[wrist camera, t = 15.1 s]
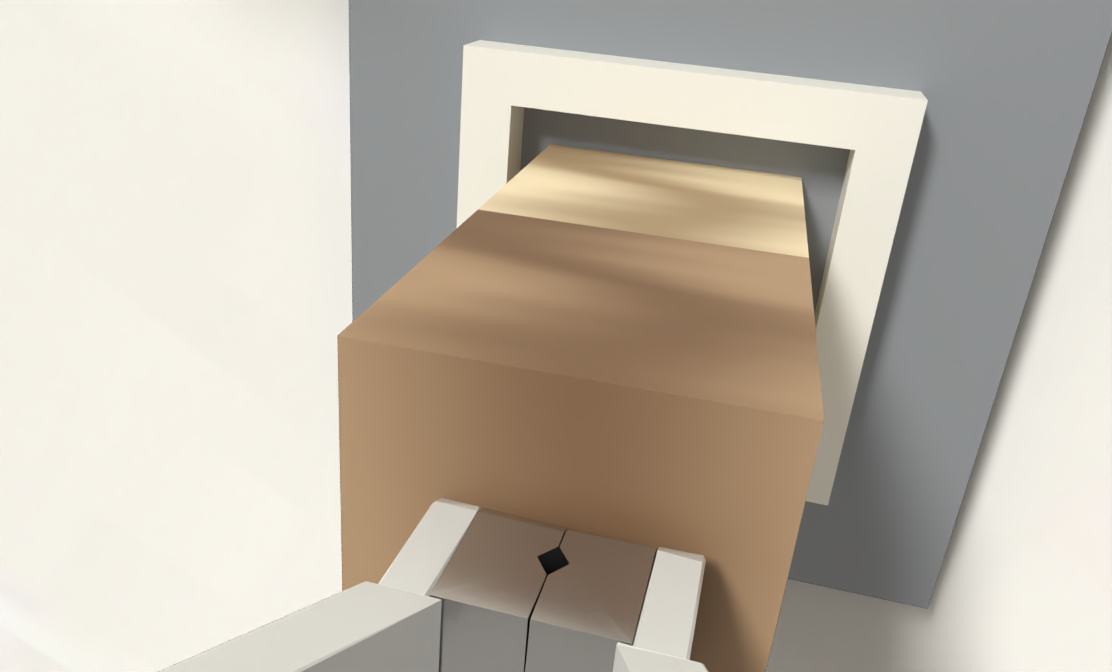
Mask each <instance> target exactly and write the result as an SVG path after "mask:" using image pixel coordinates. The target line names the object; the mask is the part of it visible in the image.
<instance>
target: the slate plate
mask: <svg viewBox="0 0 1112 672" xmlns="http://www.w3.org/2000/svg"><path fill="white" fill-rule="evenodd" d="M1111 33H1112V0H349V63H350V144H351V226H352V308H353V321H355V320H356V319H357V318H358V317H359V316H360V315H361V314H362V313H363V312H365V311H366V310H367V309H368V308H369V307H370V306H371V305H372V304H373V303H375V302H376V301H377V300H378V299H379V298H380V297H381V296H382V295H383V294H385V293H386V292H387V291H388V290H389V289H390V288H391V287H392V286H393V285H395V284H396V283H397V282H398V281H399V280H400V279H401V278H402V277H403V276H405V275H406V274H407V273H408V272H409V271H410V270H411V269H412V268H413V267H415V266H416V265H417V264H418V263H419V262H420V261H421V260H422V259H423V258H425V257H426V256H427V255H428V254H429V253H430V252H431V251H432V250H433V249H435V248H436V247H437V246H438V245H439V244H440V243H441V242H442V241H443V240H445V239H446V238H447V237H448V236H449V235H450V234H451V233H452V232H453V231H455V230H456V229H457V228H458V227H459V226H460V225H461V224H462V223H463V222H465V221H466V220H467V219H468V218H469V217H470V216H471V215H472V214H473V213H475V212H476V211H477V210H478V209H479V208H480V207H481V206H482V205H483V204H485V203H486V202H487V201H488V200H489V199H490V198H491V197H492V196H493V195H495V194H496V193H497V192H498V191H499V190H500V189H501V188H502V187H503V186H505V185H506V184H507V183H508V182H509V181H510V180H511V179H512V178H513V177H515V176H516V175H517V174H518V173H519V172H520V171H521V170H522V169H523V168H525V167H526V166H527V165H528V164H529V163H530V162H531V161H532V160H533V159H535V158H536V157H537V156H538V155H539V154H540V153H541V152H542V151H543V150H545V149H546V148H547V147H548V146H549V145H550V144H554V145H561V146H569V147H577V148H584V149H592V150H599V151H607V152H614V153H622V154H630V155H637V156H645V157H652V158H660V159H667V160H675V161H683V162H690V163H698V164H705V165H713V166H720V167H728V168H736V169H743V170H751V171H758V172H766V173H773V174H780V175H788V176H795V177H802V188H803V199H804V210H805V221H806V231H807V242H808V253H809V264H810V274H811V285H812V296H813V307H814V317H815V328H816V339H817V350H818V360H819V371H820V382H821V393H822V404H823V414H824V423H823V428H822V432H821V436H820V441H819V445H818V449H817V454H816V458H815V462H814V466H813V471H812V475H811V479H810V484H809V488H808V492H807V496H806V501H805V505H804V509H803V514H802V518H801V522H800V526H799V531H798V535H797V539H796V544H795V548H794V552H793V556H792V561H791V565H790V569H789V574H788V578H787V579H792V580H797V581H801V582H806V583H811V584H815V585H820V586H825V587H829V588H834V589H838V590H843V591H848V592H852V593H857V594H862V595H866V596H871V597H876V598H880V599H885V600H889V601H894V602H899V603H903V604H908V605H913V606H917V607H922V608H927V609H928V606H929V603H930V600H931V596H932V593H933V590H934V587H935V584H936V581H937V578H938V575H939V571H940V568H941V565H942V562H943V559H944V556H945V553H946V549H947V546H948V543H949V540H950V537H951V534H952V531H953V528H954V524H955V521H956V518H957V515H958V512H959V509H960V506H961V503H962V499H963V496H964V493H965V490H966V487H967V484H968V481H969V477H970V474H971V471H972V468H973V465H974V462H975V459H976V456H977V452H978V449H979V446H980V443H981V440H982V437H983V434H984V430H985V427H986V424H987V421H988V418H989V415H990V412H991V409H992V405H993V402H994V399H995V396H996V393H997V390H998V387H999V384H1000V380H1001V377H1002V374H1003V371H1004V368H1005V365H1006V362H1007V358H1008V355H1009V352H1010V349H1011V346H1012V343H1013V340H1014V337H1015V333H1016V330H1017V327H1018V324H1019V321H1020V318H1021V315H1022V312H1023V308H1024V305H1025V302H1026V299H1027V296H1028V293H1029V290H1030V286H1031V283H1032V280H1033V277H1034V274H1035V271H1036V268H1037V265H1038V261H1039V258H1040V255H1041V252H1042V249H1043V246H1044V243H1045V240H1046V236H1047V233H1048V230H1049V227H1050V224H1051V221H1052V218H1053V214H1054V211H1055V208H1056V205H1057V202H1058V199H1059V196H1060V193H1061V189H1062V186H1063V183H1064V180H1065V177H1066V174H1067V171H1068V167H1069V164H1070V161H1071V158H1072V155H1073V152H1074V149H1075V146H1076V142H1077V139H1078V136H1079V133H1080V130H1081V127H1082V124H1083V121H1084V117H1085V114H1086V111H1087V108H1088V105H1089V102H1090V99H1091V95H1092V92H1093V89H1094V86H1095V83H1096V80H1097V77H1098V74H1099V70H1100V67H1101V64H1102V61H1103V58H1104V55H1105V52H1106V49H1107V45H1108V42H1109V39H1110V36H1111Z"/></svg>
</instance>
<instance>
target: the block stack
mask: <svg viewBox="0 0 1112 672" xmlns="http://www.w3.org/2000/svg"><path fill="white" fill-rule="evenodd" d="M338 388H339V440H340V492H341V544H342V591H344V590H347V589H349V588H351V587H353V586H356V585H358V584H360V583H363V582H365V581H367V582H371V583H376V584H378V583H379V582H380V580H381V579H382V577H383V576H384V574H385V573H386V571H387V570H388V568H389V567H390V565H391V564H392V562H393V561H394V560H395V558H396V557H397V555H398V554H399V552H400V551H401V549H402V548H403V546H404V545H405V543H406V542H407V540H408V539H409V537H410V536H411V534H412V533H413V531H414V530H415V528H416V527H417V525H418V524H419V522H420V521H421V519H422V518H423V516H424V515H425V513H426V512H427V511H428V509H429V508H430V506H431V505H432V503H434V502H435V501H437V500H439V499H441V498H444V499H449V500H453V501H457V502H462V503H466V504H471V505H475V506H479V507H481V508H482V509H483V508H488V509H493V510H497V511H501V512H505V513H509V514H513V515H517V516H521V517H525V518H529V519H533V520H538V521H542V522H546V523H550V524H554V525H558V526H562V527H566V528H568V529H569V530H570V529H571V530H576V531H580V532H585V533H590V534H594V535H599V536H604V537H608V538H613V539H618V540H622V541H627V542H632V543H636V544H641V545H646V546H650V547H655V548H659V547H662V548H668V549H673V550H678V551H684V552H689V553H694V554H699V555H704V558H705V560H706V563H705V569H704V575H703V581H702V587H701V593H700V599H699V605H698V611H697V618H696V624H695V630H694V636H693V642H692V648H691V654H690V660H691V661H695V662H699V663H702V664H704V665H705V667H706V668H707V670H708V672H766V668H767V664H768V659H769V655H770V651H771V646H772V642H773V638H774V634H775V629H776V625H777V621H778V616H779V612H780V608H781V604H782V599H783V595H784V591H785V586H786V582H787V578H788V574H789V569H790V565H791V561H792V556H793V552H794V548H795V544H796V539H797V535H798V531H799V526H800V522H801V518H802V514H803V509H804V505H805V501H806V496H807V492H808V488H809V484H810V479H811V475H812V471H813V466H814V462H815V458H816V454H817V449H818V445H819V441H820V436H821V432H822V428H823V423H824V414H823V404H822V393H821V382H820V371H819V360H818V350H817V339H816V328H815V317H814V307H813V296H812V285H811V274H810V264H809V253H808V242H807V231H806V221H805V210H804V199H803V188H802V177H795V176H788V175H780V174H773V173H766V172H758V171H751V170H743V169H736V168H728V167H720V166H713V165H705V164H698V163H690V162H683V161H675V160H667V159H660V158H652V157H645V156H637V155H630V154H622V153H614V152H607V151H599V150H592V149H584V148H577V147H569V146H561V145H554V144H550V145H549V146H548V147H547V148H546V149H545V150H543V151H542V152H541V153H540V154H539V155H538V156H537V157H536V158H535V159H533V160H532V161H531V162H530V163H529V164H528V165H527V166H526V167H525V168H523V169H522V170H521V171H520V172H519V173H518V174H517V175H516V176H515V177H513V178H512V179H511V180H510V181H509V182H508V183H507V184H506V185H505V186H503V187H502V188H501V189H500V190H499V191H498V192H497V193H496V194H495V195H493V196H492V197H491V198H490V199H489V200H488V201H487V202H486V203H485V204H483V205H482V206H481V207H480V208H479V209H478V210H477V211H476V212H475V213H473V214H472V215H471V216H470V217H469V218H468V219H467V220H466V221H465V222H463V223H462V224H461V225H460V226H459V227H458V228H457V229H456V230H455V231H453V232H452V233H451V234H450V235H449V236H448V237H447V238H446V239H445V240H443V241H442V242H441V243H440V244H439V245H438V246H437V247H436V248H435V249H433V250H432V251H431V252H430V253H429V254H428V255H427V256H426V257H425V258H423V259H422V260H421V261H420V262H419V263H418V264H417V265H416V266H415V267H413V268H412V269H411V270H410V271H409V272H408V273H407V274H406V275H405V276H403V277H402V278H401V279H400V280H399V281H398V282H397V283H396V284H395V285H393V286H392V287H391V288H390V289H389V290H388V291H387V292H386V293H385V294H383V295H382V296H381V297H380V298H379V299H378V300H377V301H376V302H375V303H373V304H372V305H371V306H370V307H369V308H368V309H367V310H366V311H365V312H363V313H362V314H361V315H360V316H359V317H358V318H357V319H356V320H355V321H353V322H352V323H351V324H350V325H349V326H348V327H347V328H346V329H345V330H343V331H342V332H341V333H340V334H339V335H338Z"/></svg>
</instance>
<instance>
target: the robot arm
mask: <svg viewBox="0 0 1112 672" xmlns="http://www.w3.org/2000/svg"><path fill="white" fill-rule="evenodd" d="M705 563H706V560H705V558H704V555H699V554H694V553H689V552H684V551H678V550H673V549H668V548H662V547H659V548H655V547H650V546H646V545H641V544H636V543H632V542H627V541H622V540H618V539H613V538H608V537H604V536H599V535H594V534H590V533H585V532H580V531H576V530H571V529H570V530H569V529H568V528H566V527H562V526H558V525H554V524H550V523H546V522H542V521H538V520H533V519H529V518H525V517H521V516H517V515H513V514H509V513H505V512H501V511H497V510H493V509H488V508H483V509H482V508H481V507H479V506H475V505H471V504H466V503H462V502H457V501H453V500H449V499H444V498H441V499H439V500H437V501H435V502H434V503H432V505H431V506H430V508H429V509H428V511H427V512H426V513H425V515H424V516H423V518H422V519H421V521H420V522H419V524H418V525H417V527H416V528H415V530H414V531H413V533H412V534H411V536H410V537H409V539H408V540H407V542H406V543H405V545H404V546H403V548H402V549H401V551H400V552H399V554H398V555H397V557H396V558H395V560H394V561H393V562H392V564H391V565H390V567H389V568H388V570H387V571H386V573H385V574H384V576H383V577H382V579H381V580H380V582H379V583H378V584H376V583H371V582H367V581H365V582H363V583H360V584H358V585H356V586H353V587H351V588H349V589H347V590H344V591H342V592H340V593H337V594H335V595H333V596H330V597H328V598H326V599H324V600H321V601H319V602H317V603H314V604H312V605H310V606H308V607H305V608H303V609H301V610H298V611H296V612H294V613H291V614H289V615H287V616H285V617H282V618H280V619H278V620H275V621H273V622H271V623H268V624H266V625H264V626H262V627H259V628H257V629H255V630H252V631H250V632H248V633H246V634H243V635H241V636H239V637H236V638H234V639H232V640H229V641H227V642H225V643H223V644H220V645H218V646H216V647H213V648H211V649H209V650H207V651H204V652H202V653H200V654H197V655H195V656H193V657H190V658H188V659H186V660H184V661H181V662H179V663H177V664H174V665H172V666H170V667H167V668H165V669H163V670H161V671H158V672H708V670H707V668H706V667H705V665H704V664H702V663H699V662H695V661H691V660H690V654H691V648H692V642H693V636H694V630H695V624H696V618H697V611H698V605H699V599H700V593H701V587H702V581H703V575H704V569H705Z"/></svg>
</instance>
